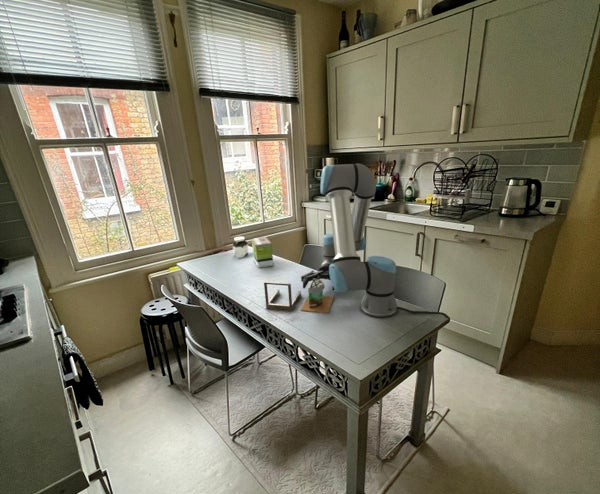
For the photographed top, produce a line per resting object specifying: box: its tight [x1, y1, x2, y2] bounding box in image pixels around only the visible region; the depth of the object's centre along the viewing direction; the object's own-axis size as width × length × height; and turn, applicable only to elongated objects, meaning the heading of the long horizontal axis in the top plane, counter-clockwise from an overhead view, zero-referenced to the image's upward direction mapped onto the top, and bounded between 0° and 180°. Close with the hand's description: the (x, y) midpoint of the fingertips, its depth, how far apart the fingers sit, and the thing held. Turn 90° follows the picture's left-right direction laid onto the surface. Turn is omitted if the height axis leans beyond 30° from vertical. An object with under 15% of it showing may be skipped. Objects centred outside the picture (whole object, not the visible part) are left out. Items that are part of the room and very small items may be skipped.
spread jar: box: [232, 236, 250, 259], centre depth 214 cm, size 12×11×12 cm
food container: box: [307, 278, 325, 308], centre depth 142 cm, size 12×6×10 cm, turn 168°
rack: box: [263, 281, 302, 312], centre depth 145 cm, size 12×16×13 cm
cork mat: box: [300, 296, 334, 314], centre depth 144 cm, size 12×15×1 cm
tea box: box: [251, 236, 274, 268], centre depth 197 cm, size 15×10×15 cm, turn 17°
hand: (318, 286), depth 143 cm, fingers open, 13 cm apart
